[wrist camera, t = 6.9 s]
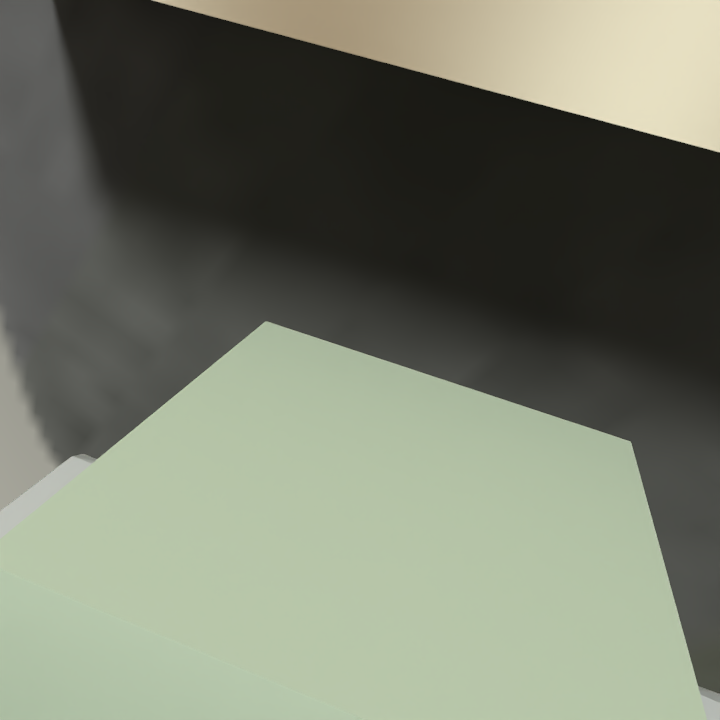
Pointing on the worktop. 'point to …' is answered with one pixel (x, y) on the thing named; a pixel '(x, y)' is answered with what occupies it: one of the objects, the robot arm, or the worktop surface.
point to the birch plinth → (530, 50)
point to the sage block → (343, 559)
